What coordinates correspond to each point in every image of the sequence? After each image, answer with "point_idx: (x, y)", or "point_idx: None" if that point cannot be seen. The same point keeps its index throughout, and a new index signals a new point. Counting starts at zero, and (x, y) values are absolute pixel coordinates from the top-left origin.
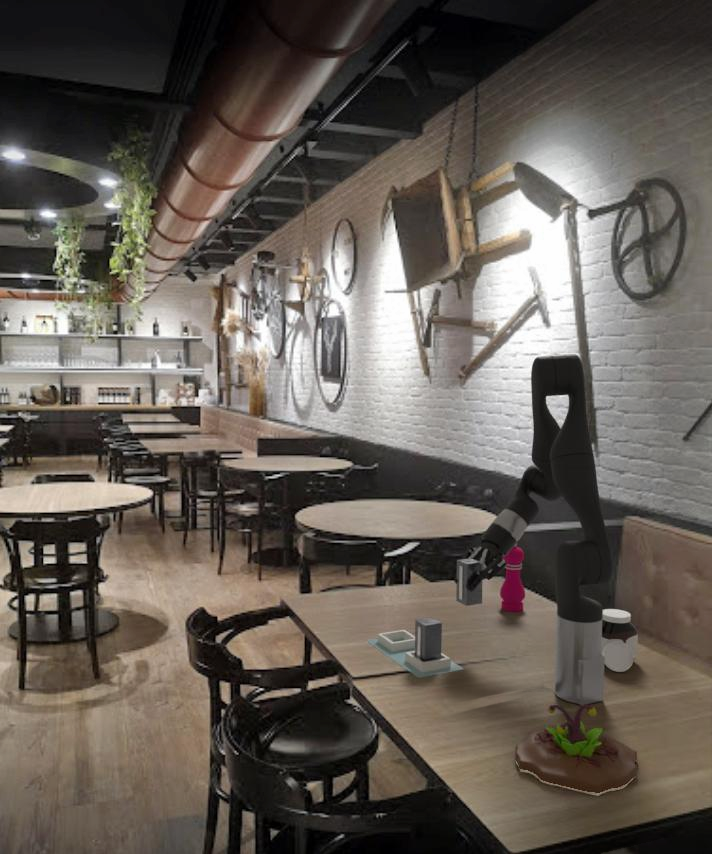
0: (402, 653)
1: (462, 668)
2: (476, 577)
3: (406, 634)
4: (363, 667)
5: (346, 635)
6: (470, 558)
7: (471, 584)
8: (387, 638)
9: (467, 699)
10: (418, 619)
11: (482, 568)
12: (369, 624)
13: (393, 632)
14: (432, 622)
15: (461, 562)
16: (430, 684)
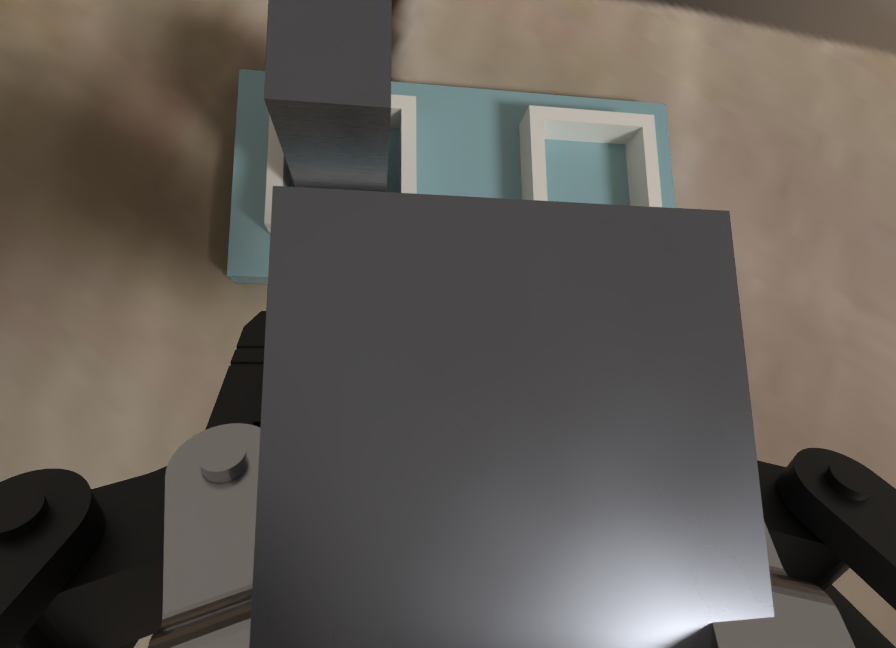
0: (487, 149)
1: (235, 272)
2: (235, 414)
3: None
4: (471, 11)
5: (771, 113)
6: (760, 625)
7: (253, 326)
8: (591, 120)
9: (29, 161)
10: (389, 19)
11: (168, 596)
12: (857, 245)
13: (648, 179)
14: (301, 56)
15: (530, 206)
16: (225, 123)
